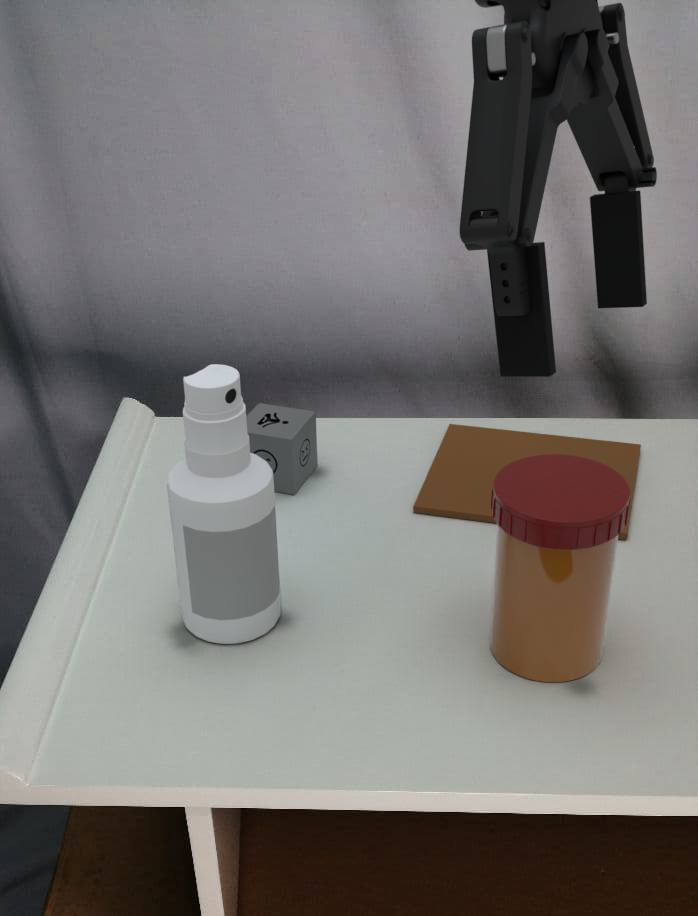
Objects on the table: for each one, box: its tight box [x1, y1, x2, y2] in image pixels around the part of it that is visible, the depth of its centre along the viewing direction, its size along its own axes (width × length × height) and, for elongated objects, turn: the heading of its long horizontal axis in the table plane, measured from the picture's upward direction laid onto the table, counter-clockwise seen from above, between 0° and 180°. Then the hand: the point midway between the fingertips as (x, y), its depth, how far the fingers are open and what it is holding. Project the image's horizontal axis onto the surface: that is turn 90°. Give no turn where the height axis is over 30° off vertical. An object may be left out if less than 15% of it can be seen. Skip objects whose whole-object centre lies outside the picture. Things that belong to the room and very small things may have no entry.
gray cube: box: [246, 402, 319, 496], centre depth 95 cm, size 5×5×5 cm
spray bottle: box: [166, 363, 282, 645], centre depth 76 cm, size 7×7×18 cm
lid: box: [491, 454, 630, 550], centre depth 70 cm, size 8×8×2 cm
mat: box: [412, 423, 642, 541], centre depth 94 cm, size 16×14×1 cm
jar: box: [489, 523, 619, 683], centre depth 73 cm, size 7×7×12 cm
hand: (578, 338), depth 65 cm, fingers open, 13 cm apart
